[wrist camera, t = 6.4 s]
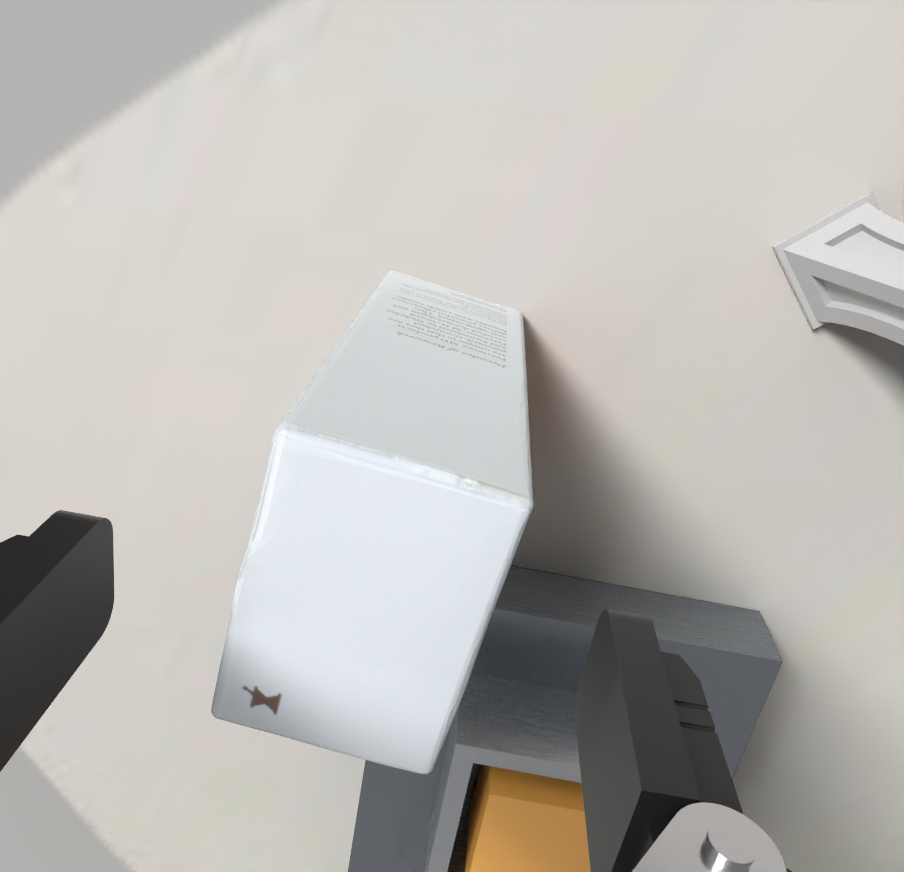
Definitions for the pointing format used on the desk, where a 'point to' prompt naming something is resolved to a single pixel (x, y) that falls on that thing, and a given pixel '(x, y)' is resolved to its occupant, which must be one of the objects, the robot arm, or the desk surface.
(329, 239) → the desk surface
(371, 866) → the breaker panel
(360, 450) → the skincare box
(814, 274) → the eiffel tower
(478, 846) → the button
